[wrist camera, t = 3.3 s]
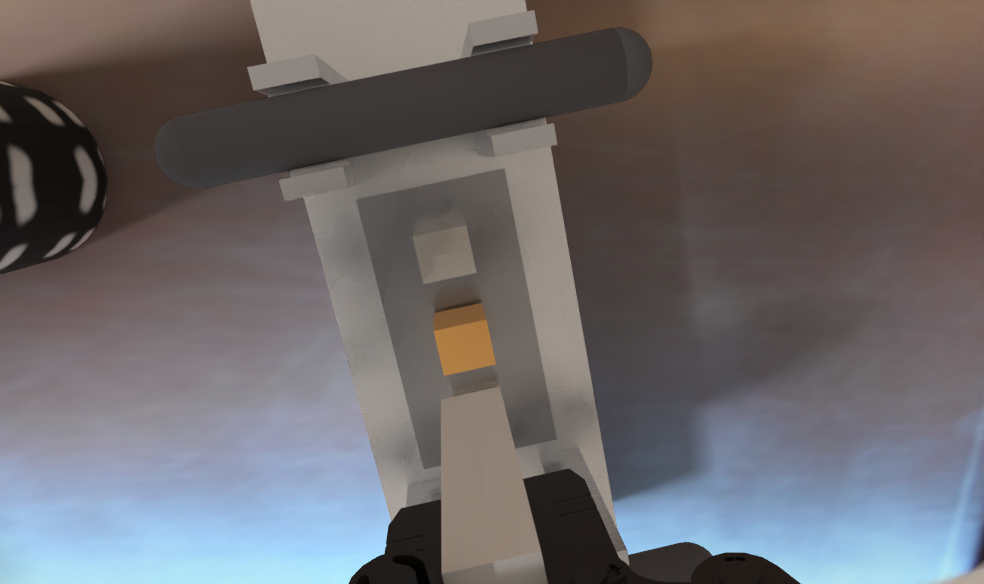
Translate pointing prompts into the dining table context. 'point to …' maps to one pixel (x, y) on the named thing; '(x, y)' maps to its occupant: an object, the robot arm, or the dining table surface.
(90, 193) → the spotted tube
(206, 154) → the dark grey rod
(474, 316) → the breaker paddle
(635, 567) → the dark grey bar handle
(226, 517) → the dining table surface
